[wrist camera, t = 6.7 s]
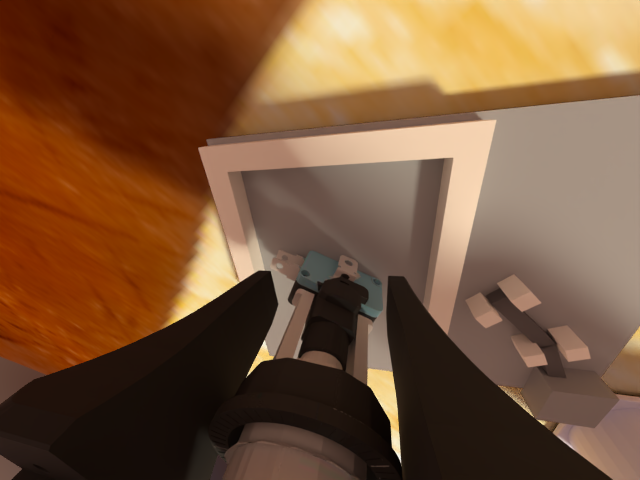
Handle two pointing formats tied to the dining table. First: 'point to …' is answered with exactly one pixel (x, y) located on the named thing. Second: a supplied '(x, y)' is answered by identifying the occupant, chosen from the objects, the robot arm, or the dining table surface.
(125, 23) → the dining table surface
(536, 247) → the mat
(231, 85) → the dining table surface
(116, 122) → the dining table surface
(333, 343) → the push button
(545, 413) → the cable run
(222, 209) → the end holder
